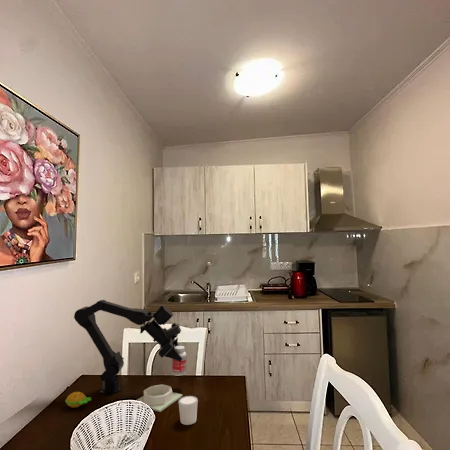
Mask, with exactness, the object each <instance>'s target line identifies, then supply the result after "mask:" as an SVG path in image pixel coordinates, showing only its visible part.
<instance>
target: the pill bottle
mask: <svg viewBox="0 0 450 450" xmlns="http://www.w3.org/2000/svg"><path fill="white" fill-rule="evenodd" d="M175 350H176V351H177V352H178V354H179V355H180V356H181V358H182V360H181V361H178V360H175V359H172V358H171V359H172V361H171V373H172V375H173V376H179V377H180V376H184V375H186V373H187V352H186V351H185V346H184V345H179V346H176V347H175Z"/></svg>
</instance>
